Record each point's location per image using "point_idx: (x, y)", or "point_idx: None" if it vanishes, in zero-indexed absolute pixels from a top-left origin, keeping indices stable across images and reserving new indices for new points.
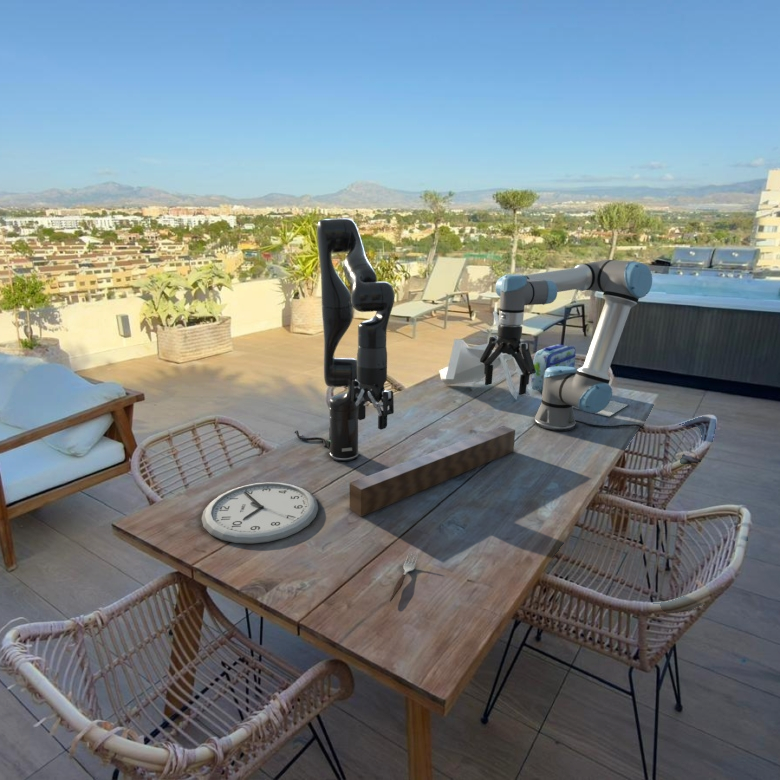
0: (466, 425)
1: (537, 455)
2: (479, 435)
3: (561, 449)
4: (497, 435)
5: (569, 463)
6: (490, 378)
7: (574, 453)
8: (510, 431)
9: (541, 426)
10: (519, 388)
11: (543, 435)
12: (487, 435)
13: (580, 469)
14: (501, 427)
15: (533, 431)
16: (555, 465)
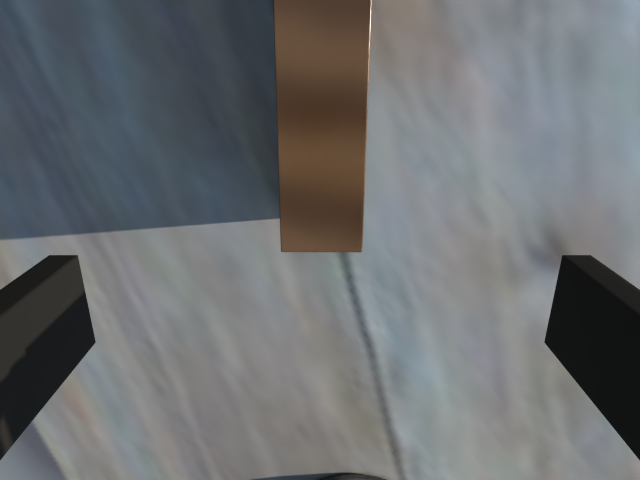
0: None
1: (204, 258)
2: (361, 9)
3: (188, 370)
4: (289, 102)
5: None
6: (590, 358)
7: (136, 374)
8: (283, 213)
9: (363, 477)
10: (26, 289)
11: (314, 425)
12: (328, 52)
13: None
14: (353, 223)
15: (363, 429)
16: (97, 233)
